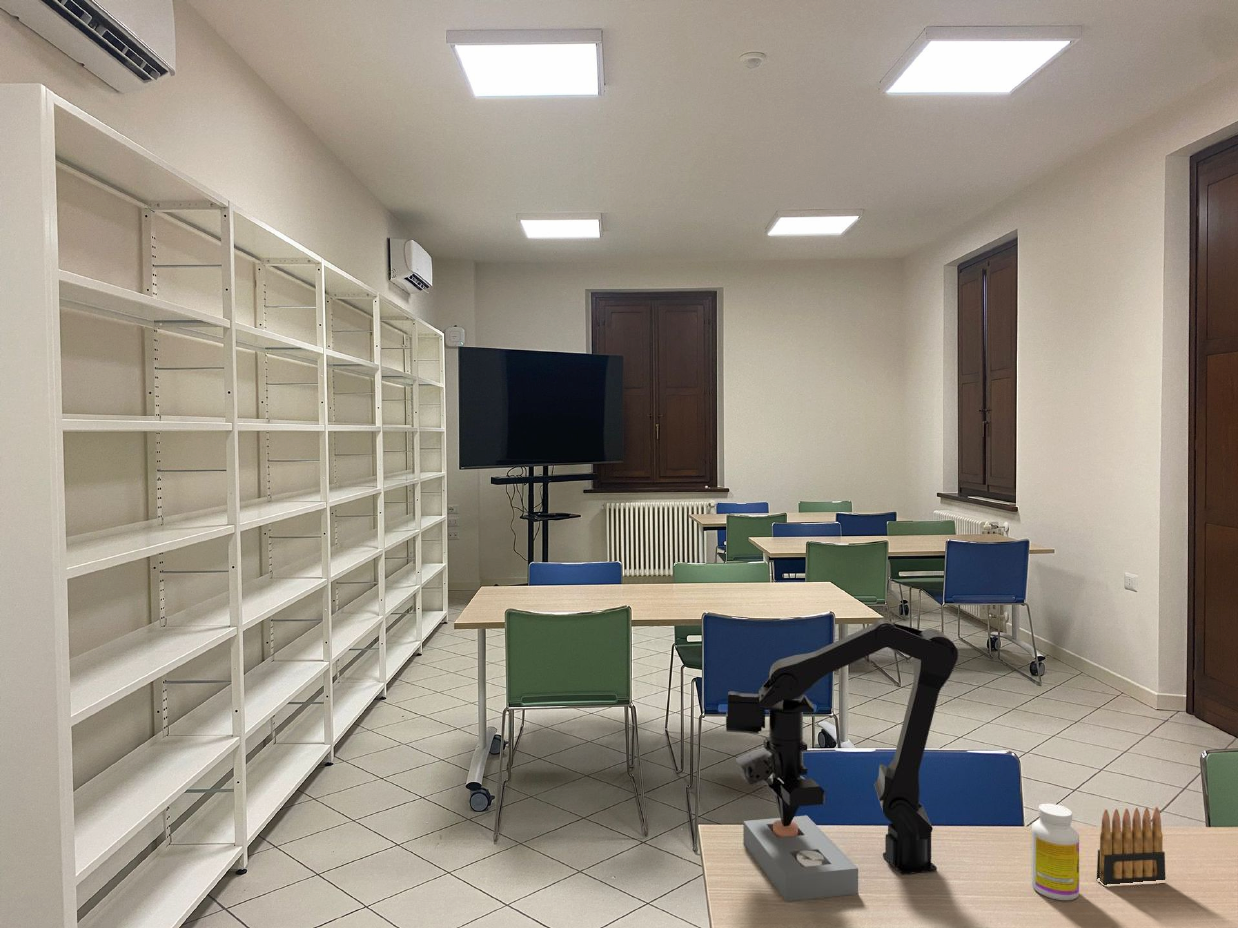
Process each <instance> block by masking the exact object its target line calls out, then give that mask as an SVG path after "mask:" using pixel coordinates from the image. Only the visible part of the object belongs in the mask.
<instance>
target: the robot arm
mask: <svg viewBox="0 0 1238 928" xmlns="http://www.w3.org/2000/svg"><path fill="white" fill-rule="evenodd" d="M885 648H889V649H892V650H895V651H897V652H899V653H902V654H904V655H906V656H909V657H910V658H913V659H912V660H913V661H912V663H913V665H912V666H913V683H912V687H911V690H910V694H909V698H908V702H907V707H906V711H905V715H904V718H903V721H902V722H903V723H902V724H901V725H902V726H901V730H900V734H899V737H898V742H897V746H896V749H895V752H894V756H893V759H892V761H891V762H890V763H889V765H888V766H886V765H885V764H882V763H879V769H878V776H877V780H876V781H875V782H874V783H873V786H874V789H875V792H876V796H877V798H878V801H879V804H880V808H881V810H882V813H883V815H884V816H885V819H887V820H888V821H889V822H890V823H888V824H887V833H886V834H885V837H884V838H885V840H884V842H885V844H884V845H885V848H884V849H885V852H882V857H883V858H884V859H885V860H886V861H887V862H888V863H890V865H891V866H892V867H894V868H895V870H896V871H898V872H899V873H900V874H902V875H909V874H918V873H928V872H937V871H938V869H937V868H938V867H937V866H936V865H935V864H934V863H933V862H932V832H933V830H934V828H933V826H932V824H931V822H930V820H929V817H928V815H927V813H926V810H925V808H924V806H923V804H922V803H920V794H921V793H920V791H921V790H920V768H921V766H922V761H923V756H924V753H925V749H926V745H927V742H928V738H929V737H928V736H929V734H930V730H931V726H932V722H933V718H934V715H935V710H936V706H937V702H938V699H939V694H940V692H941V690H942V689H943V687H944V686H945V685H946V683H947V682H948V680H949V679H950V678H951V676H952V675H951V674H952V673H953V672H954V669H955V667H956V664H957V662H958V659H959V650H958V648H957V646H956V645H955V643H954V642H953V641H952V640H951V639H950V638H949V637H948V636H947V635H946V634H945V633H944V632H942V631H940V630H938V629H934V628H933V629H932V628H930V629H925V630H921V629H918V628H915V627H912V626H907V625H903V624H899V623H896V622H893V621H891V620H888V619H887V618H886V619H885V618H881V619H878V620H876V621H874V623H872V624H871V625H869V626H867V627H864V628H862V629H860V630H858V631H856V632H854V633H851V634H850V635H847V636H845V637H842V638H841V639H839V640H836V641H835V642H832V643H831V644H828V645H826V646H823V647H821V648H819V649H817V650H815V651H813V652H812V651H811V652H809V653H801V654H795V655H791V656H788V657H785V658H781V659H778V660H776V661H775V662H773V664H771V666H770V670H769V677H768V678H767V680H766V681H765V683H763V685H762V686H761V688H760V689H759V690H758V693H743V692H739V691H728V693H727V709H726V714H725V730H726V731H725V732H726V733H737V734H753V735H759V733H760V732H763V730H762V729H766V711H769V713H768V715H769V716H768V719H769V720H768V723H769V725H768V729H769V730H768V733H769V734H768V736H765V738H764V739H763V747H761V748H758V749H754V750H751V751H749V752H746V753H745V754H742V755H741V756H738V757H737V758H736V759H735V762H736V765H737V768H738V771H739V773H740V775H741V778H742V779H743V780H744V781H745V782H746V784H747V785H750V786H752V785H756V784H758V782H760V783H761V782H762V781H763V782H764V783H765V784H766V786H768V788H770V789H771V791H772V792H773V795H774V798H775V802H776V806H777V810H778V813H779V818H781V822H782V824H783V825H784V826H789V825H790V824H791V822H792V820H793V818H794V817H796V814H797V811H798V810H799V808H800V807H808V806H809V807H810V806H819V805H822V806H823V805H824V804H825V803H826V791H825V790H824V789H823V788H822V787H821V786H820V785H819V784H818V783H817V782H816V781H815V780H813V778H805V777H804V776H805V775H808V768H807V767H806V766H805V765H804V751H805V752H807V751H808V743H806V742H805V741H804V713H808V714H809V713H810V714H813V713H814V712H815V707H814V706H815V705H814V703H813V702H812V701H811V700H809V699H808V697H807V696H806V694H804V693H806V692H807V691H808V690H810V689H811V688H812V687H814V686H815V685H816V683H818V682H819V681H821V679H823V678H824V677H826V676H827V675H829V674H832V673H834V672H836V671H838V670H840V669H842V668H844V667H847V666H848V665H851V664H852V663H856V662H857V661H859V660H861V659H864V658H867V657H868V656H871V655H872V654H874V653H876V652H879V651H881V650H883V649H885ZM797 698H798V699H797Z"/></svg>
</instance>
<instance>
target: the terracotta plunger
mask: <svg viewBox="0 0 1238 928" xmlns="http://www.w3.org/2000/svg"><path fill="white" fill-rule="evenodd" d="M773 833H774V834H775V835H776V837H777V838H779V837H790V836H798V825H797V824H796V823H795V822H793V821H792V822H791V824H790V825H789V826H784V825H783V824H782V822H781V820H777V821H775V822H774V823H773Z"/></svg>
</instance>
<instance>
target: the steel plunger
mask: <svg viewBox="0 0 1238 928" xmlns="http://www.w3.org/2000/svg"><path fill="white" fill-rule="evenodd" d="M797 862H798V863H799V864H800V865H801V866H802V867H808V866H818V865H824V857H823V856H822V855H821V854H820V853H818V852H815V851H809V850H805V851H800V852H798V853H797Z"/></svg>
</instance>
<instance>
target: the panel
mask: <svg viewBox="0 0 1238 928" xmlns="http://www.w3.org/2000/svg"><path fill="white" fill-rule="evenodd" d="M777 820H781V818H780V817H775V818H763V819H752V820H751V819H750V820H743V823H742V825H743V831H742V833H743V834H742V835H743V840H742V841H743V845H744V847H745V848H746V849H747V850H748V852H749V853H750V855H751V856H752V857H753V859H754V860H755V862H756V863H757V864H758V866H759V867H760V869H762V871H763V872H764V874H765V875H766V877H768V879H769V881H770V882H771V883H772V885H773V886H774V888H776V890H777V891H778V893H779V894H780V896H781V897H782V898H783V900H784V901H785V902H786V903H788V902H795V901H796V902H797V901H804V900H812V899H813V900H814V899H821V898H822V899H823V898H832V897H833V898H834V897H842V896H849V895H850V896H851V895H858V894H859V867H858V866H857V865H856V864H855V863H854V862H853V861H852V860H851V859H850V858H849V857H848V856H847V855H846V854H845V853H844V852H843V851H842V850H841V849H840V848H839V846H837V845H836V844H835V843H834V842H833V840H831V838H830V837H828V835H826V833H825V832H824V831H823V830H822V829H821V828H820V827H819V826H818V825H817V824H816V823H815V822H814V821H813V820H812V819H811V818H810V817H809V816H808V815H797V816H796V815H795V816H794V818H793V820H792V821H793V822H795V823H796V824H797V825H798V836H790V837H779V838H777V837H776V835H775V834H774V833H773V823H774V822H775V821H777ZM805 850H809V851H815V852H818V853H820V854H821V855H822V856H823V857H824V865H818V866H808V867H802V866H801V865H800V864H799V863H798V862H797V853H798V852H800V851H805Z"/></svg>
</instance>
